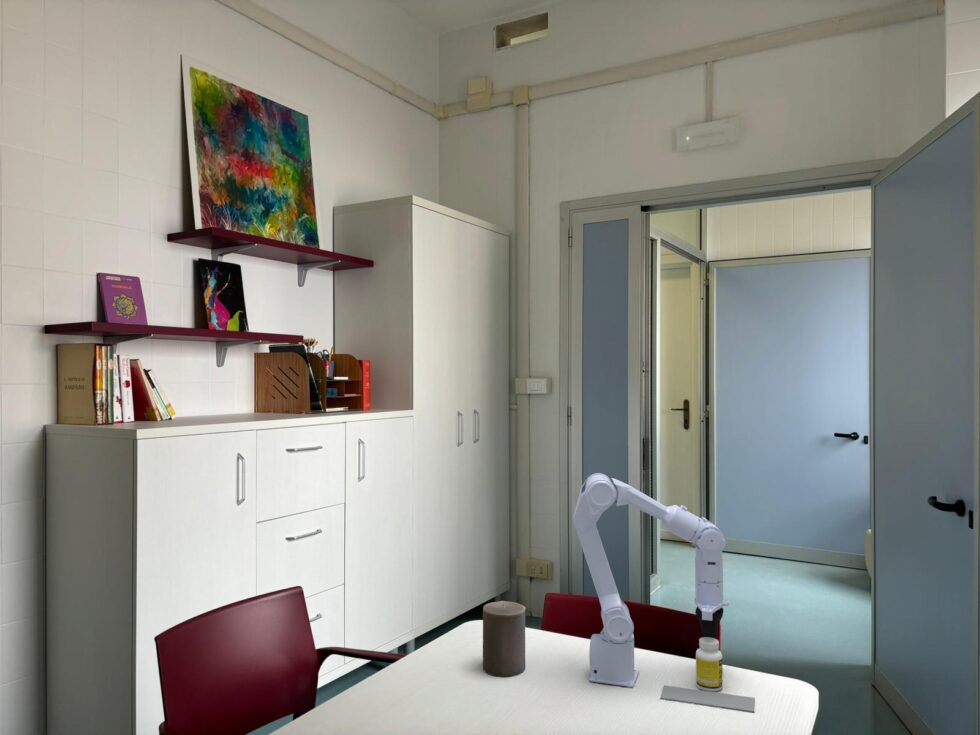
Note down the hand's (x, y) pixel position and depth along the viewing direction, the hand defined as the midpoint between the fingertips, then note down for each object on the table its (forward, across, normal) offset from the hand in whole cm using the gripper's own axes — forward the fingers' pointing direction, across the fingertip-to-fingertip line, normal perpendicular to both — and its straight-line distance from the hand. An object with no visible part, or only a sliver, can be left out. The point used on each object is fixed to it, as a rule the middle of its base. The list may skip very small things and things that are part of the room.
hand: (709, 642), depth 155 cm
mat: (+8, -10, 0) cm, 12 cm away
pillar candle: (+8, -8, +44) cm, 46 cm away
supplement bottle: (+8, -4, 0) cm, 9 cm away
